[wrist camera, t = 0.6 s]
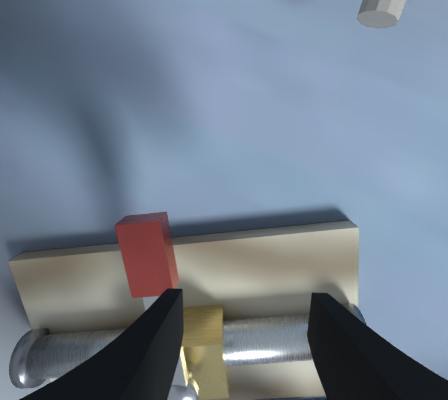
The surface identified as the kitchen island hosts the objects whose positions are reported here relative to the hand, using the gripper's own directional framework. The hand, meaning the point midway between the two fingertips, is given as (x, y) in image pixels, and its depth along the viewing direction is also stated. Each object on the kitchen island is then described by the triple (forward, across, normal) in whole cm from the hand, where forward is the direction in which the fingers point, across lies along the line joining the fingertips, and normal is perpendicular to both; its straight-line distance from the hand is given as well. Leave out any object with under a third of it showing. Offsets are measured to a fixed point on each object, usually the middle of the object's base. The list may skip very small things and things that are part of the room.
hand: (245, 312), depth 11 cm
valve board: (+10, +4, +9) cm, 14 cm away
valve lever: (+4, +4, +4) cm, 7 cm away
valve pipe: (+10, +4, +9) cm, 14 cm away
